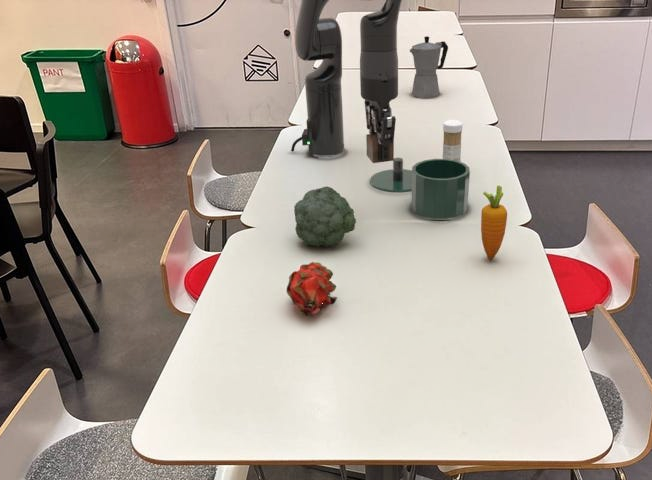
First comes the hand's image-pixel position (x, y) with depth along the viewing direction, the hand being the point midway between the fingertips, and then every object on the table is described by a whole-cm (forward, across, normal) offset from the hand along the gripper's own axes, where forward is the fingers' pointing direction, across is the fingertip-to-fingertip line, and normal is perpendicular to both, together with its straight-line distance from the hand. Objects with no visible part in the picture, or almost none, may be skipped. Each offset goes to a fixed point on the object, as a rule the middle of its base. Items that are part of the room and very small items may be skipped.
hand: (380, 156), depth 149 cm
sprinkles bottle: (+14, -18, +24) cm, 33 cm away
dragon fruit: (+14, +32, -23) cm, 42 cm away
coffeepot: (+15, -88, +44) cm, 99 cm away
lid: (+14, -17, +10) cm, 24 cm away
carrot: (+14, +26, +15) cm, 33 cm away
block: (0, 0, 0) cm, 0 cm away
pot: (+14, 0, +14) cm, 20 cm away
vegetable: (+14, +7, -14) cm, 21 cm away
